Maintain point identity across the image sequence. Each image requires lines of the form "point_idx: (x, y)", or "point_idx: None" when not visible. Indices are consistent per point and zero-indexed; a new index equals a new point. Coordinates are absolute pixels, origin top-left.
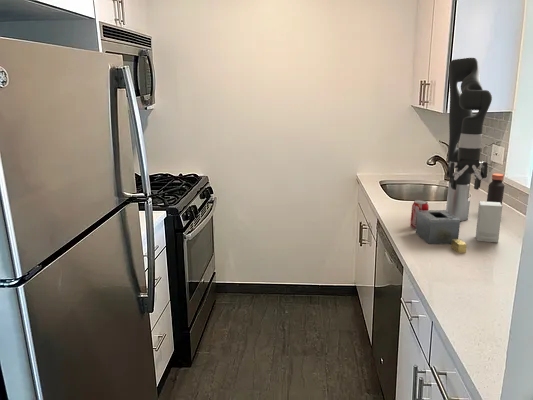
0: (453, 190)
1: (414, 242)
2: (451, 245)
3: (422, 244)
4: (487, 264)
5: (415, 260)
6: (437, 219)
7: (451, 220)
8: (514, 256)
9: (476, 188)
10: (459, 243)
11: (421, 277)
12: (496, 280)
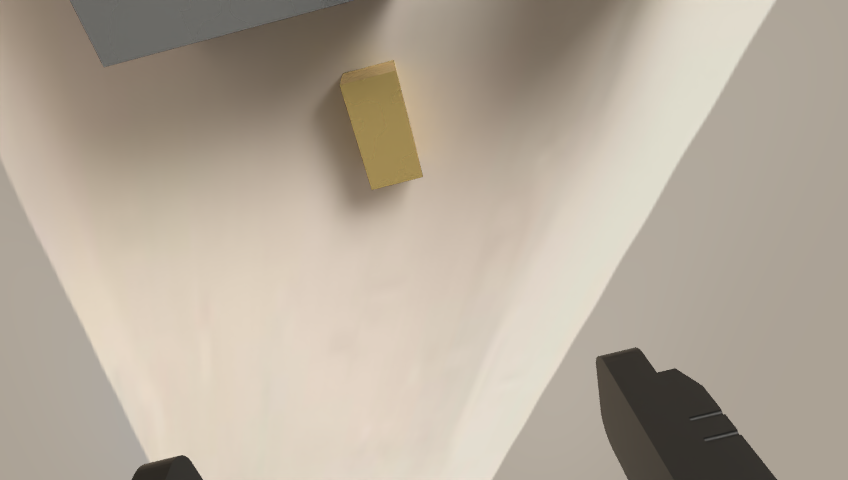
0: None
1: None
2: (342, 77)
3: None
4: (485, 300)
5: (131, 326)
6: (171, 22)
7: (321, 7)
8: (677, 162)
9: (610, 435)
10: (377, 168)
11: None
12: (465, 438)
